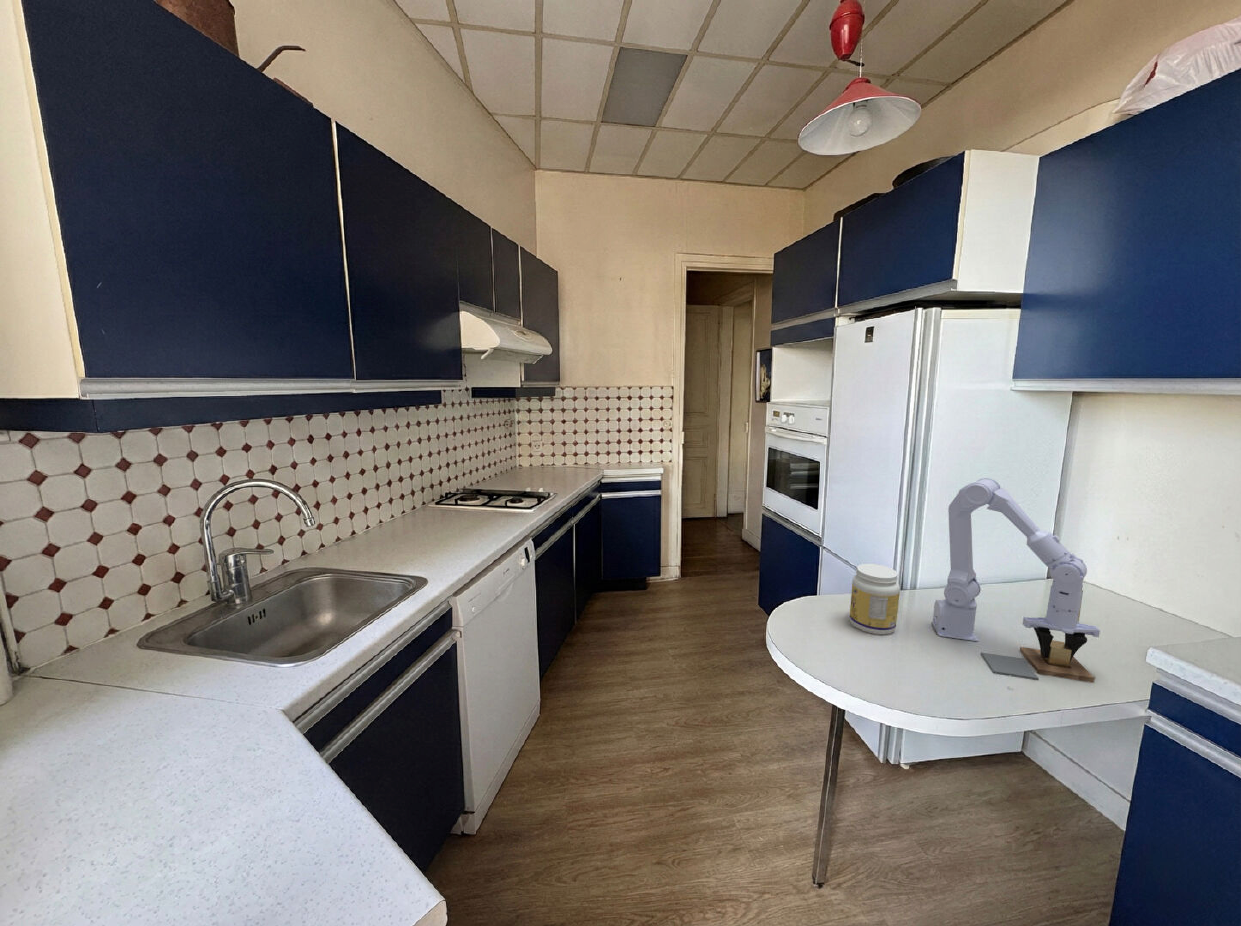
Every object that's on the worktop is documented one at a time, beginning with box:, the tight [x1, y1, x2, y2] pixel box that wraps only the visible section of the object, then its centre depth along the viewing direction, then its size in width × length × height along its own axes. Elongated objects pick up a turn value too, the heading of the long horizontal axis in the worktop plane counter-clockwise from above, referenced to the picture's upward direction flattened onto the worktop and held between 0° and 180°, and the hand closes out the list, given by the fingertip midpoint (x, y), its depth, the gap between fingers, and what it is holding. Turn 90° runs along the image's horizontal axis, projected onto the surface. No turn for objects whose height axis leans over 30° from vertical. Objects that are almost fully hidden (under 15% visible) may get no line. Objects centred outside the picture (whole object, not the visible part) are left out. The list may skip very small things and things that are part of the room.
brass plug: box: [1041, 640, 1072, 668], centre depth 123 cm, size 4×4×6 cm
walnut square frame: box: [1019, 646, 1096, 683], centre depth 124 cm, size 11×11×1 cm
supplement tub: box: [849, 563, 901, 635], centre depth 143 cm, size 12×12×17 cm
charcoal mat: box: [980, 651, 1039, 681], centre depth 123 cm, size 9×9×1 cm
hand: (1055, 657), depth 124 cm, fingers closed on brass plug, 4 cm apart
